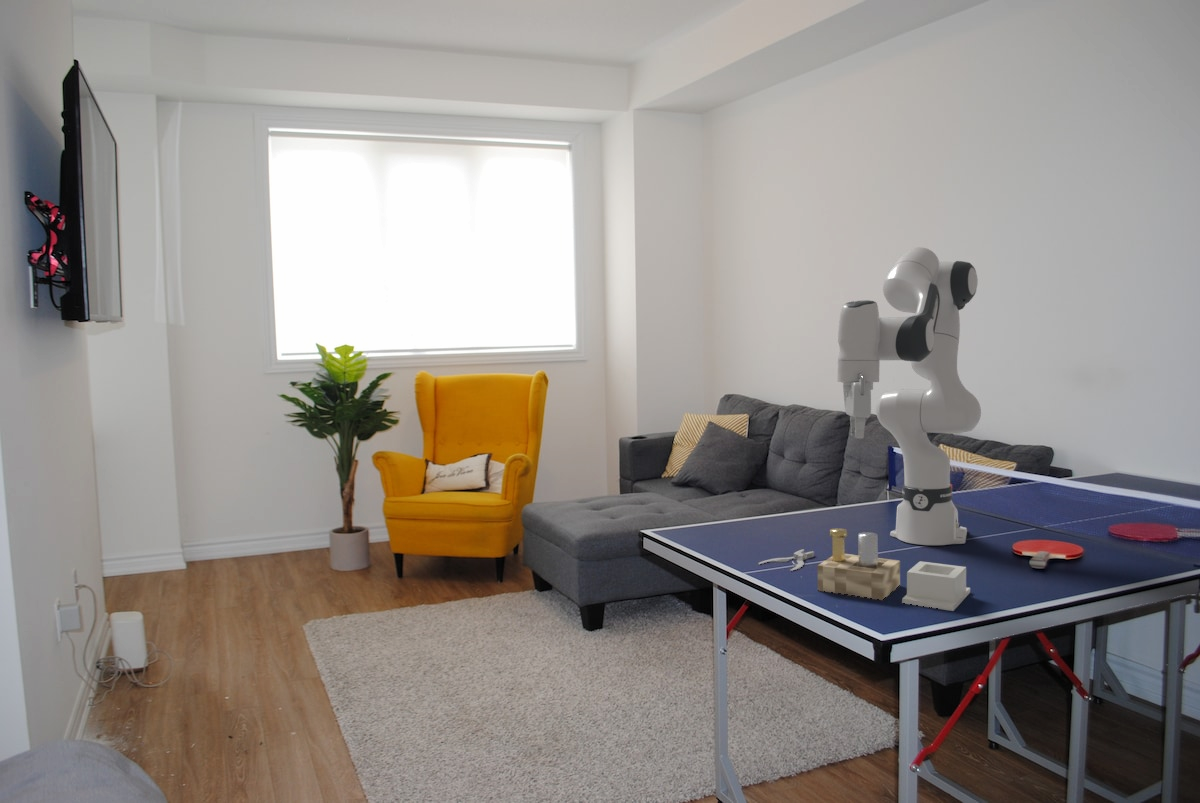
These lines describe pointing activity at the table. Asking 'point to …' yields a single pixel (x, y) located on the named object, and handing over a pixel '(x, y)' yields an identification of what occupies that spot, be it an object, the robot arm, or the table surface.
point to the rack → (936, 585)
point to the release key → (838, 544)
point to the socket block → (859, 577)
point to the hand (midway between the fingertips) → (857, 437)
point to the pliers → (797, 555)
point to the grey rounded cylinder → (868, 550)
